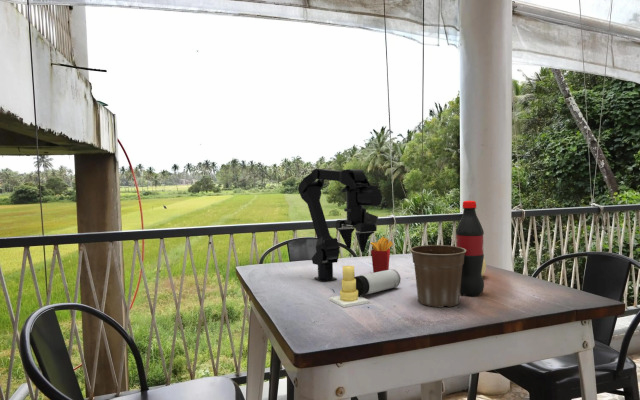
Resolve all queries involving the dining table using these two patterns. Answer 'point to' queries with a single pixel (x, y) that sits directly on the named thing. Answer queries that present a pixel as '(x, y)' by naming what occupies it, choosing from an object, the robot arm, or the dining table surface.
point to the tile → (349, 303)
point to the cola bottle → (471, 250)
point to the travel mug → (377, 281)
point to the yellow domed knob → (348, 285)
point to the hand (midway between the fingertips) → (355, 250)
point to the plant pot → (438, 274)
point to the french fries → (381, 255)
